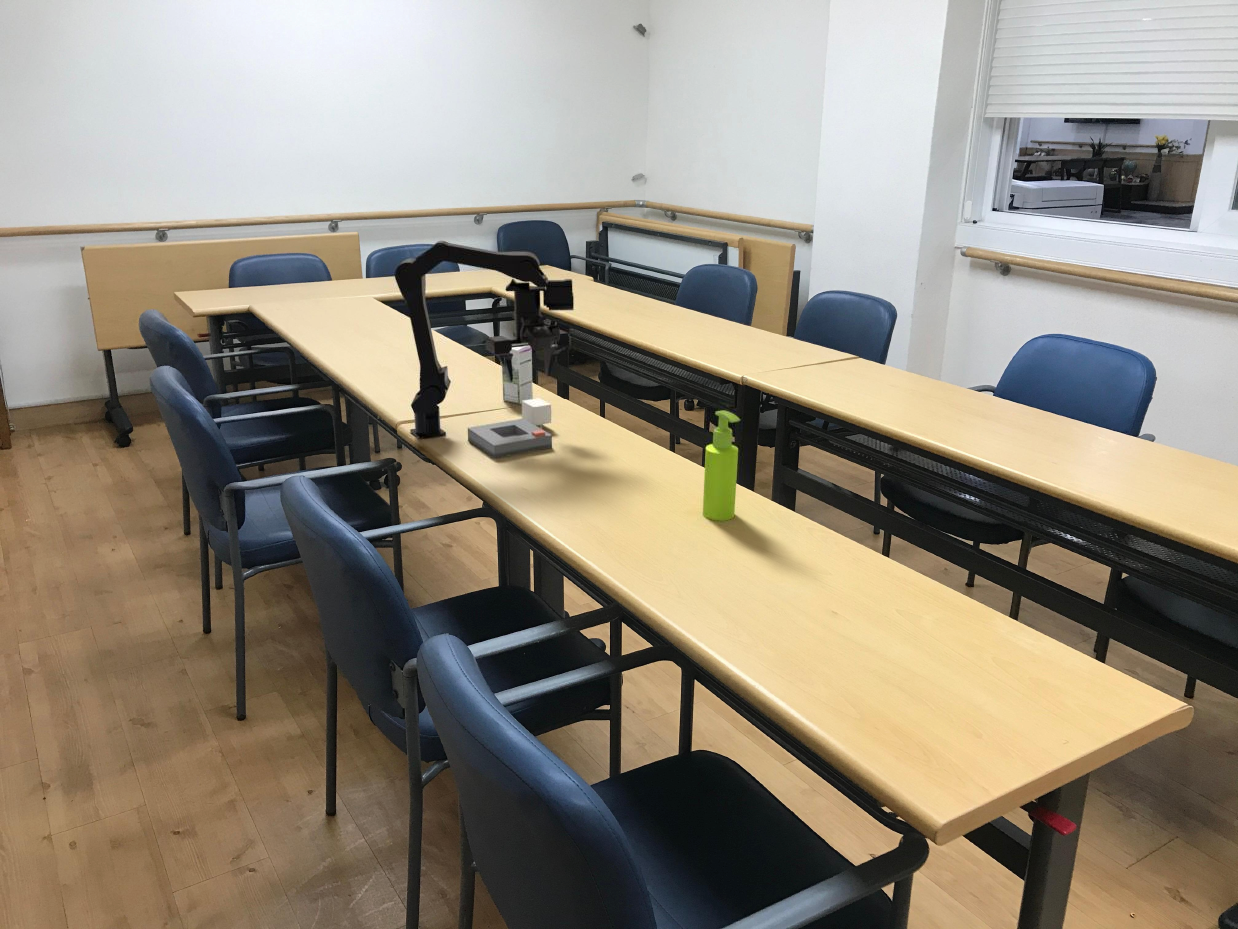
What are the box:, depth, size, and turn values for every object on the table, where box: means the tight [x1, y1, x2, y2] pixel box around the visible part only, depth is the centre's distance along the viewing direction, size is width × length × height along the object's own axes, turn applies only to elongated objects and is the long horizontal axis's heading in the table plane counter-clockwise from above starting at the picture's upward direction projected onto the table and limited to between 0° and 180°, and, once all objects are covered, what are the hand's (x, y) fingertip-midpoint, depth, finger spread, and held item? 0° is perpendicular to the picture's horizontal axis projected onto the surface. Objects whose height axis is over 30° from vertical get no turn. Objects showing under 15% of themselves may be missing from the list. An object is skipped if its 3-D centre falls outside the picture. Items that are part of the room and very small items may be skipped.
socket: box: [467, 418, 553, 459], centre depth 213 cm, size 14×14×4 cm
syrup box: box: [501, 346, 534, 405], centre depth 243 cm, size 6×6×14 cm
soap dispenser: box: [702, 410, 741, 521], centre depth 174 cm, size 6×7×20 cm
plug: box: [521, 397, 552, 430], centre depth 224 cm, size 6×5×6 cm
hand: (529, 378), depth 217 cm, fingers open, 9 cm apart
